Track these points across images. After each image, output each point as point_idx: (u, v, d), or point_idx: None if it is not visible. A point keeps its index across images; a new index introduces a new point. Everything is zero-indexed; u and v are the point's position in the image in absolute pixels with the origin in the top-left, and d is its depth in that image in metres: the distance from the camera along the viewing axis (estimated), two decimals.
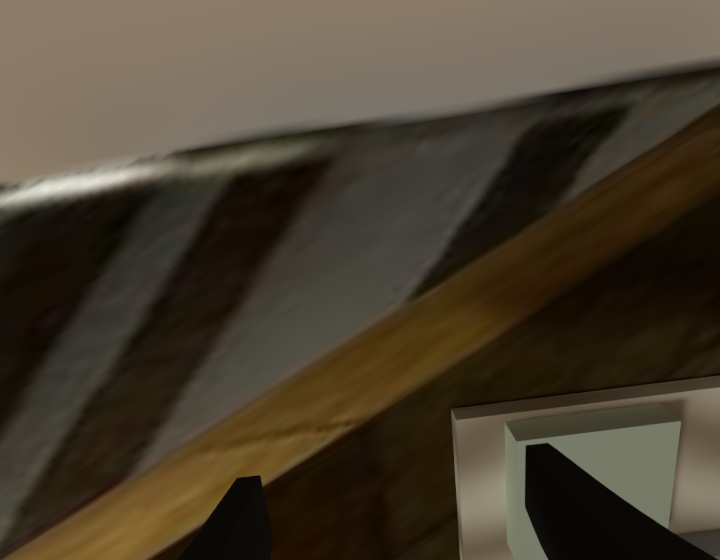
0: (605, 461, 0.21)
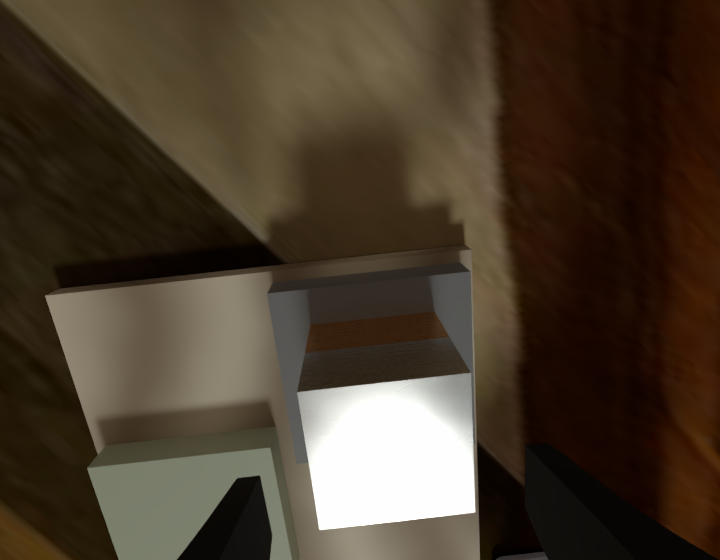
0: (148, 528, 0.19)
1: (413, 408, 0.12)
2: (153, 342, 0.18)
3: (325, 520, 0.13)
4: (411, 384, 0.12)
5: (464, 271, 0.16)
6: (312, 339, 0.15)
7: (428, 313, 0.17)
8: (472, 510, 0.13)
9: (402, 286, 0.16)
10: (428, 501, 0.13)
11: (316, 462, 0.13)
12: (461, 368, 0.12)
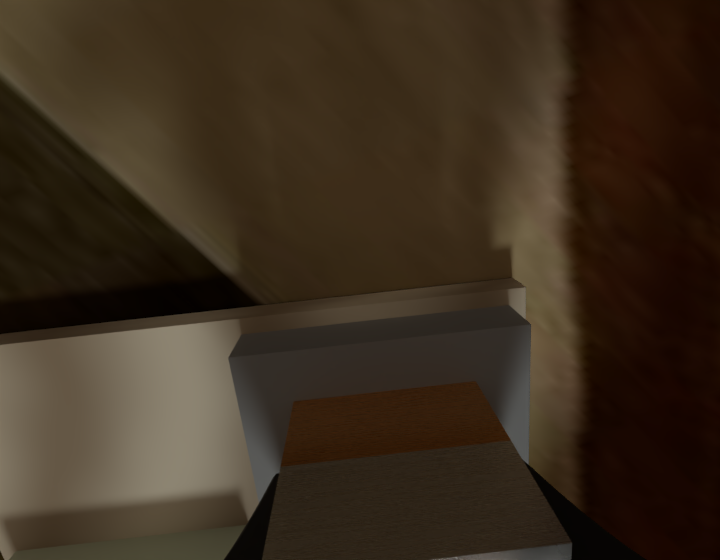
0: None
1: None
2: (73, 417, 0.13)
3: None
4: None
5: (521, 324, 0.11)
6: (294, 434, 0.10)
7: (466, 384, 0.11)
8: None
9: (430, 345, 0.11)
10: None
11: None
12: (550, 528, 0.07)
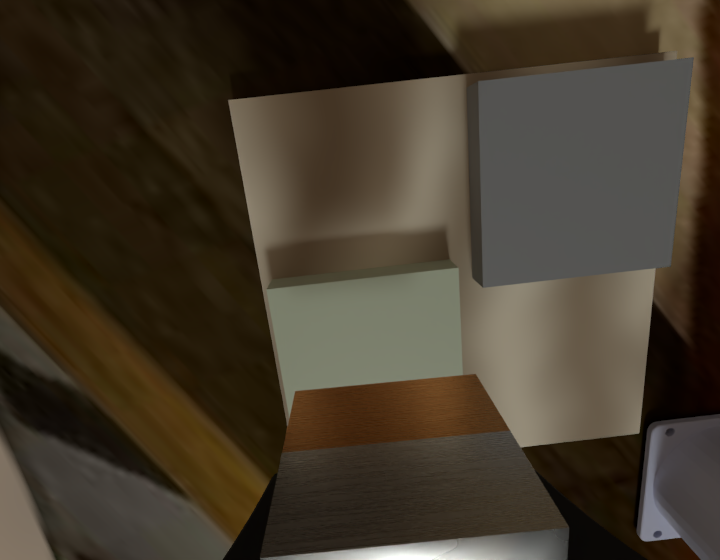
0: (321, 362, 0.18)
1: None
2: (334, 157, 0.17)
3: None
4: (464, 546, 0.07)
5: (686, 58, 0.15)
6: (296, 422, 0.10)
7: (466, 376, 0.12)
8: None
9: (620, 74, 0.15)
10: None
11: None
12: (548, 513, 0.07)
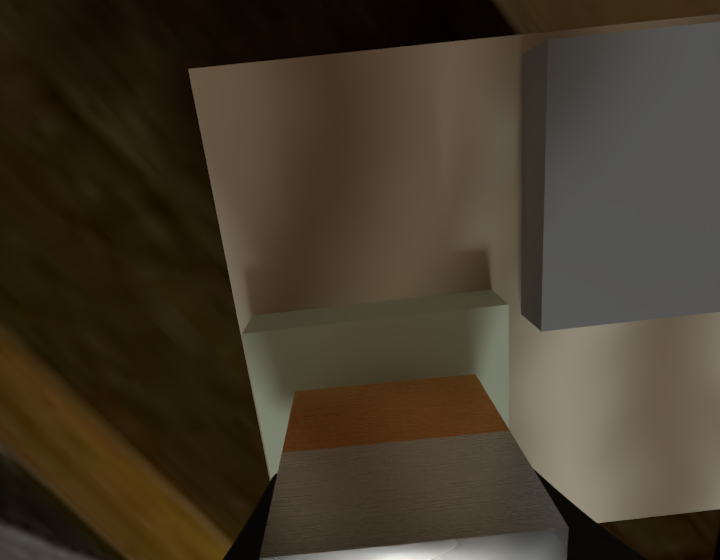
0: None
1: None
2: (337, 151, 0.12)
3: None
4: (463, 546, 0.07)
5: None
6: (295, 422, 0.10)
7: (466, 376, 0.12)
8: None
9: None
10: None
11: None
12: (548, 513, 0.07)
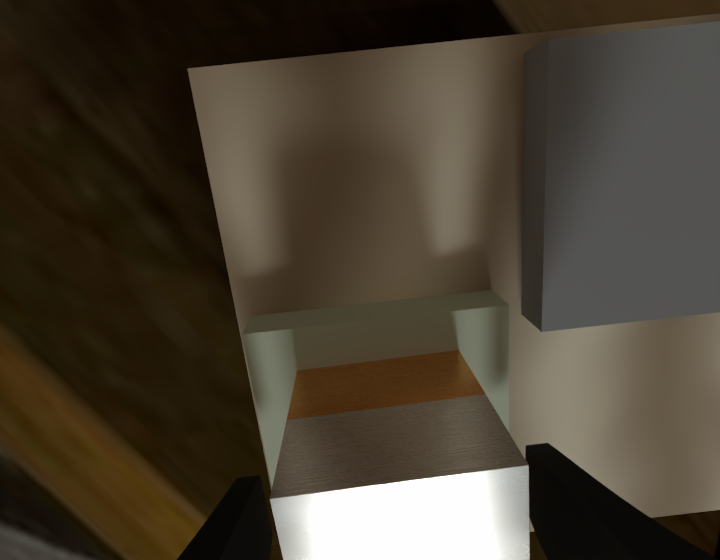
0: None
1: (442, 516, 0.08)
2: (337, 151, 0.12)
3: None
4: (440, 484, 0.08)
5: None
6: (298, 395, 0.11)
7: (450, 352, 0.13)
8: None
9: None
10: None
11: None
12: (512, 455, 0.08)
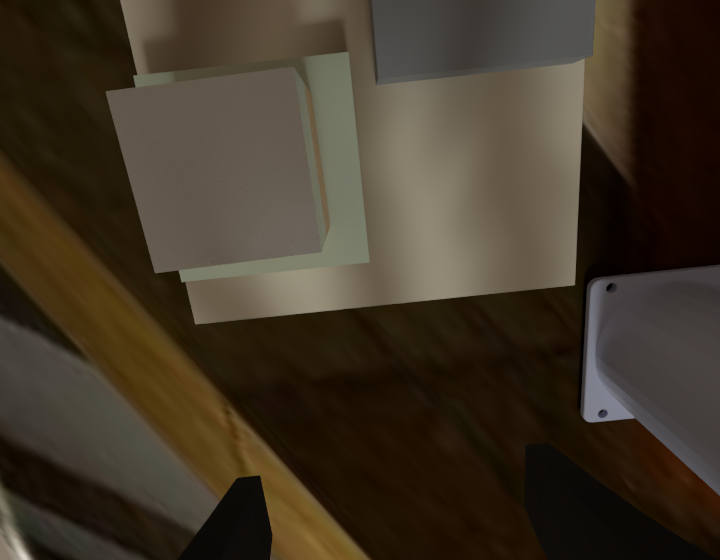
0: None
1: (235, 113, 0.11)
2: None
3: (160, 260, 0.12)
4: (230, 82, 0.11)
5: None
6: None
7: None
8: (318, 250, 0.12)
9: None
10: (268, 237, 0.12)
11: (139, 184, 0.12)
12: None
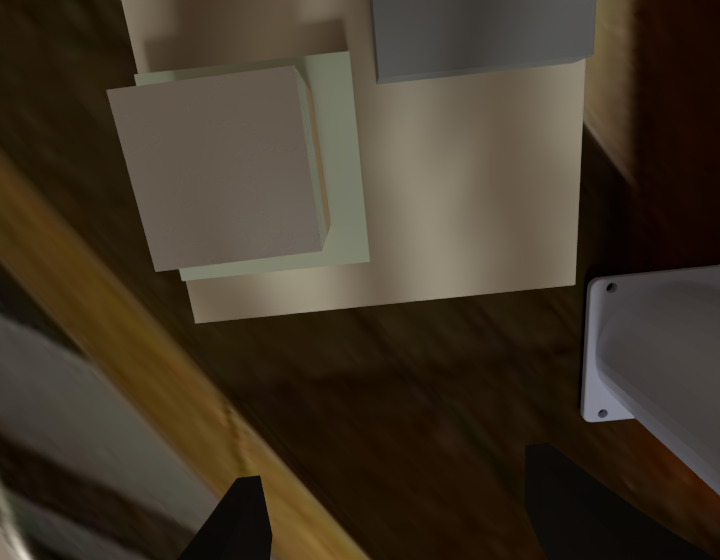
0: None
1: (236, 112, 0.11)
2: None
3: (160, 259, 0.12)
4: (230, 80, 0.11)
5: None
6: None
7: None
8: (319, 249, 0.12)
9: None
10: (269, 236, 0.12)
11: (139, 182, 0.12)
12: None
